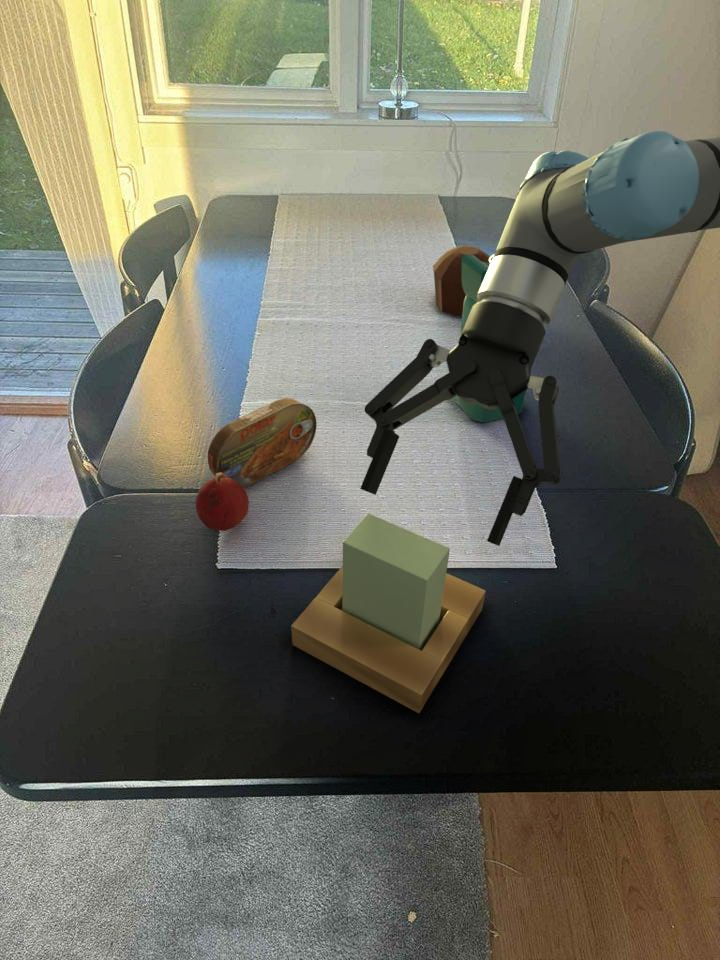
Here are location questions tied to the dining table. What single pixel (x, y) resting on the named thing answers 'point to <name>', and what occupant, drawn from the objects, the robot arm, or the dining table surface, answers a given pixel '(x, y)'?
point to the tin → (262, 441)
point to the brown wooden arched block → (453, 278)
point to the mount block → (387, 642)
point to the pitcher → (471, 285)
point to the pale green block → (394, 580)
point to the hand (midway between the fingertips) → (427, 517)
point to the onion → (222, 503)
